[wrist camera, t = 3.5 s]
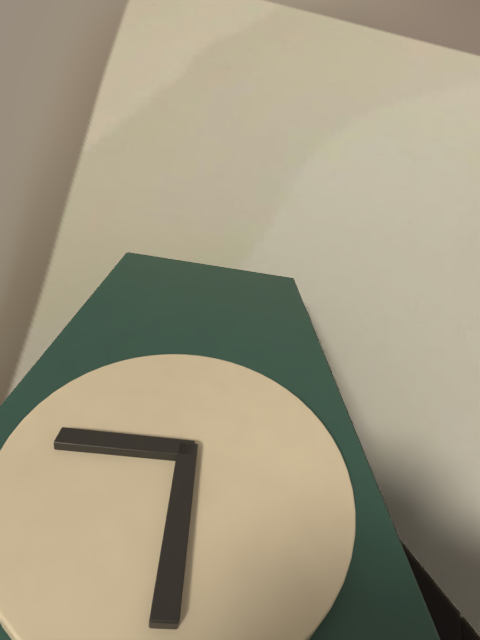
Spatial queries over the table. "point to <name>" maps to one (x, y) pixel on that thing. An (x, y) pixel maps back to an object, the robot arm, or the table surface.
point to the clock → (193, 475)
